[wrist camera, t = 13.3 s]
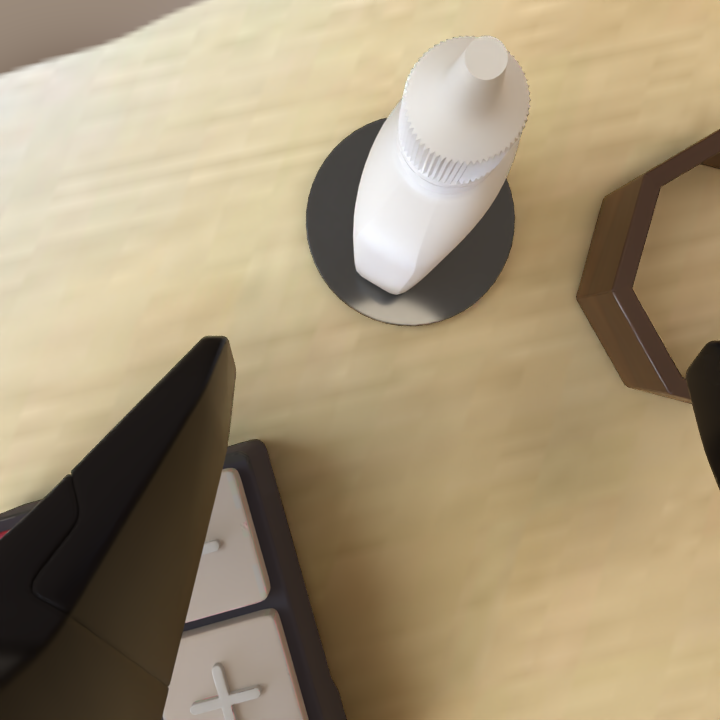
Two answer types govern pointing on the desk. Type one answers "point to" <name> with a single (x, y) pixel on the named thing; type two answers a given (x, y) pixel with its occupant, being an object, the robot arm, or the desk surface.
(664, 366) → the rack
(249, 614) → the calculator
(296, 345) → the desk surface
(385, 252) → the eye dropper bottle
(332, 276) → the coaster
